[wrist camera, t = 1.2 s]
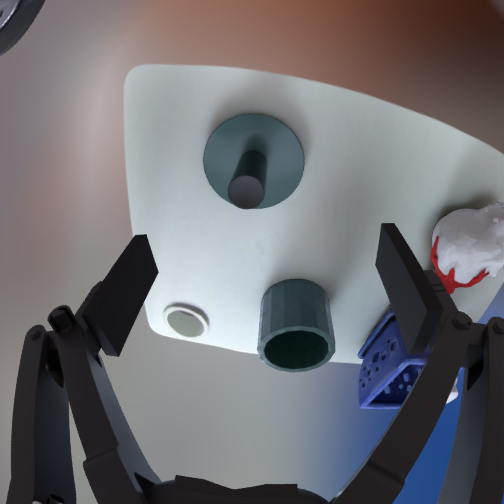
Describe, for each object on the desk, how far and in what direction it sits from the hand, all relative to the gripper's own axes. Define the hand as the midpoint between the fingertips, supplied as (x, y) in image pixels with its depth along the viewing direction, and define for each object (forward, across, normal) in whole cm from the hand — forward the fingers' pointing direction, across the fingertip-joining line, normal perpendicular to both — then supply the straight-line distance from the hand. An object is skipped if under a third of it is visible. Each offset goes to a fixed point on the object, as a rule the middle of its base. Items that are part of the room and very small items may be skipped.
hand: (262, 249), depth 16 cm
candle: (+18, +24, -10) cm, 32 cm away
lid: (+17, -2, 0) cm, 17 cm away
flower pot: (+18, +20, -29) cm, 39 cm away
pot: (+18, +2, -21) cm, 28 cm away
